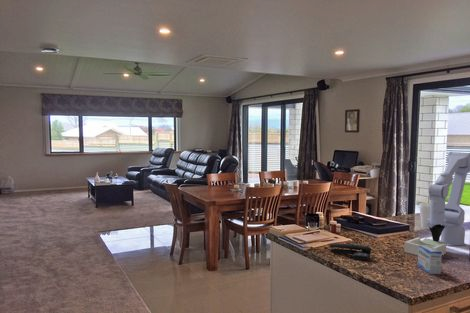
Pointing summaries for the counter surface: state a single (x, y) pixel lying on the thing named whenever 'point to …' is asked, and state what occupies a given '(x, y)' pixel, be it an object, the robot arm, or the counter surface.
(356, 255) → the can opener
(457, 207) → the robot arm
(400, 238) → the counter surface
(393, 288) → the counter surface
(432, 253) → the medicine box
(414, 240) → the white open tray
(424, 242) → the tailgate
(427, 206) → the foam cup
